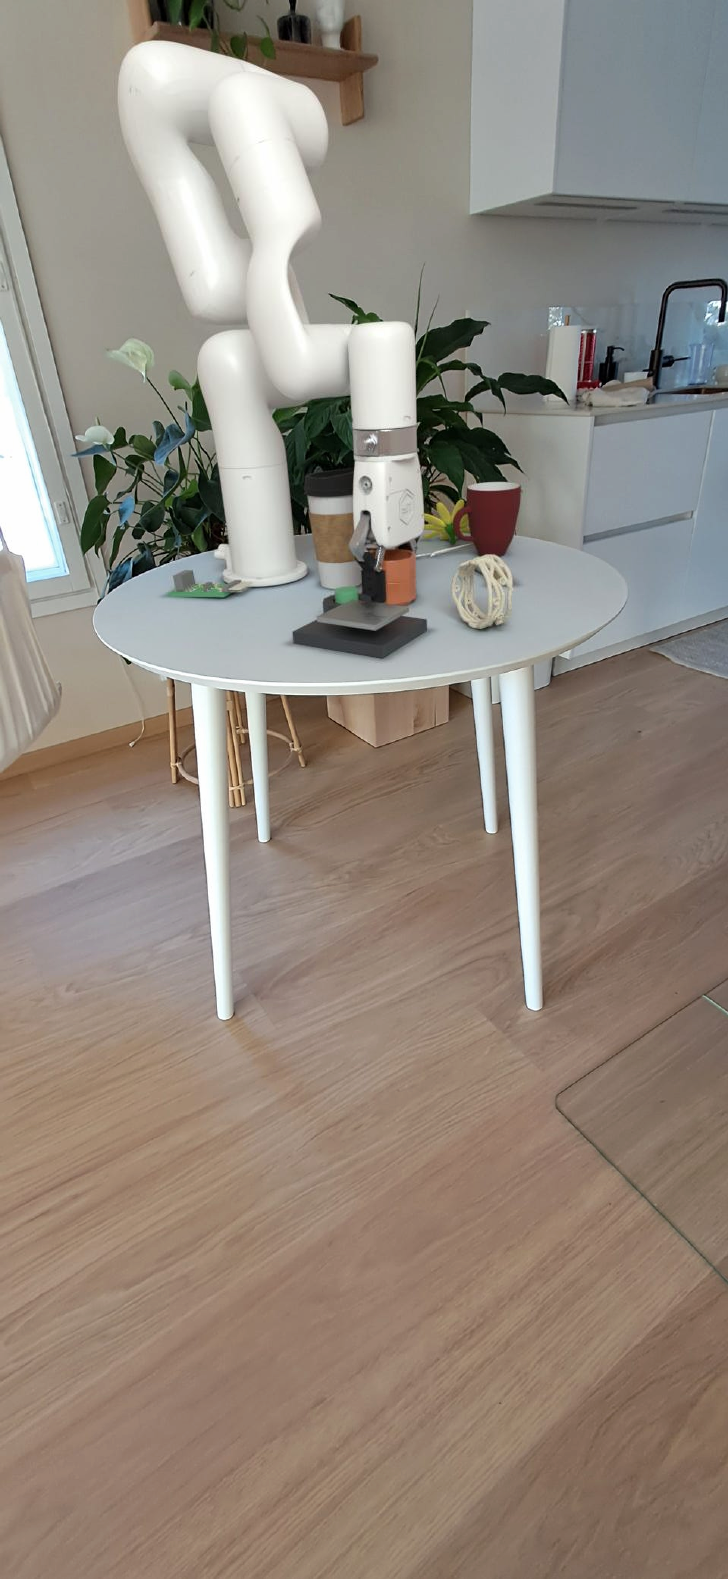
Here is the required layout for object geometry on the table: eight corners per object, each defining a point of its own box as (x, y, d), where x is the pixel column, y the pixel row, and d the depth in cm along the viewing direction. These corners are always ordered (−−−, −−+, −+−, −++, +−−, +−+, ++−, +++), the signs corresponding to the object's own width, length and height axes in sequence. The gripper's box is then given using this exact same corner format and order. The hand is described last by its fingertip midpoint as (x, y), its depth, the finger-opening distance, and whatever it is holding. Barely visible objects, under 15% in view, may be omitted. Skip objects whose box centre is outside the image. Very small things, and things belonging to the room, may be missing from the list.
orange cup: (354, 606, 98) (351, 559, 95) (381, 592, 103) (379, 546, 100) (399, 612, 95) (398, 563, 92) (425, 597, 100) (425, 550, 97)
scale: (287, 642, 87) (284, 616, 86) (341, 614, 95) (340, 590, 94) (382, 658, 81) (381, 631, 80) (432, 627, 89) (432, 602, 88)
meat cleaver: (527, 578, 103) (495, 584, 102) (526, 587, 104) (494, 592, 102) (483, 555, 112) (453, 560, 111) (482, 563, 113) (452, 568, 111)
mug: (470, 566, 113) (471, 495, 108) (442, 555, 119) (442, 488, 114) (528, 555, 117) (532, 486, 112) (498, 546, 123) (500, 480, 118)
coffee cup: (364, 592, 104) (358, 474, 96) (305, 591, 105) (294, 476, 98) (376, 575, 111) (371, 465, 103) (320, 575, 113) (311, 466, 105)
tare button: (330, 604, 90) (329, 591, 90) (343, 598, 92) (342, 585, 92) (350, 607, 89) (349, 593, 88) (363, 600, 91) (362, 587, 90)
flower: (439, 492, 118) (501, 511, 123) (402, 532, 128) (461, 548, 133) (442, 515, 117) (504, 533, 122) (403, 554, 127) (463, 569, 132)
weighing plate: (316, 622, 84) (316, 616, 83) (352, 604, 89) (352, 599, 88) (375, 630, 80) (375, 625, 80) (409, 611, 85) (409, 606, 85)
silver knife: (479, 543, 124) (370, 563, 119) (479, 537, 123) (370, 557, 118) (491, 549, 120) (380, 570, 115) (491, 543, 120) (380, 564, 115)
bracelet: (473, 615, 93) (474, 548, 89) (517, 631, 87) (520, 560, 83) (446, 621, 91) (447, 553, 87) (489, 638, 85) (491, 566, 81)
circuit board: (253, 568, 106) (236, 577, 102) (257, 590, 107) (240, 600, 103) (183, 568, 110) (163, 577, 106) (187, 590, 111) (168, 599, 107)
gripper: (373, 454, 82) (380, 616, 91) (446, 436, 94) (446, 579, 103) (316, 453, 85) (328, 608, 94) (394, 435, 98) (398, 574, 107)
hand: (390, 592), depth 99 cm, fingers closed on orange cup, 7 cm apart
